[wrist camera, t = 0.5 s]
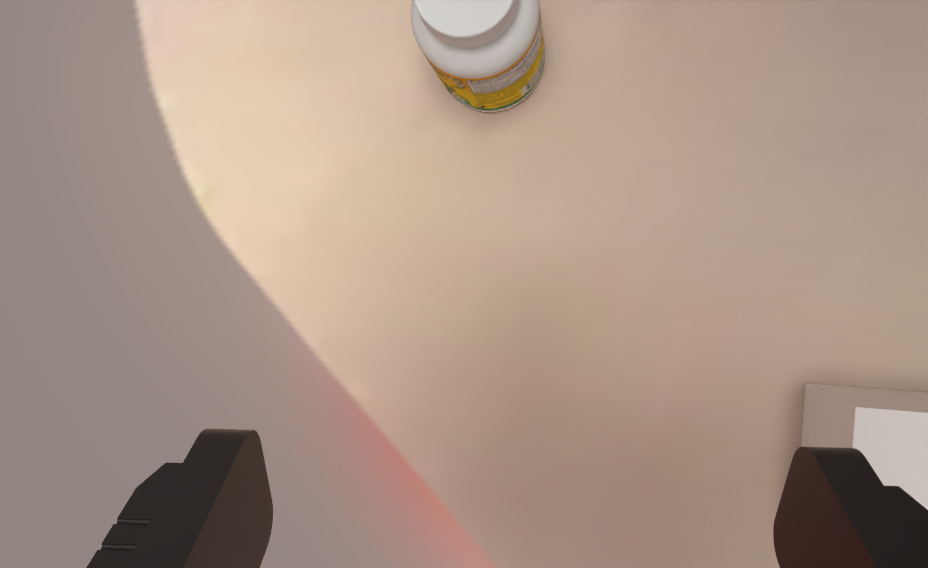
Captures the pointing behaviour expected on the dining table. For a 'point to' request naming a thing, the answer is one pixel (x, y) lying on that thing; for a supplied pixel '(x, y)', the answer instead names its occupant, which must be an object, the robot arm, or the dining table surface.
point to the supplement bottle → (482, 48)
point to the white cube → (873, 430)
